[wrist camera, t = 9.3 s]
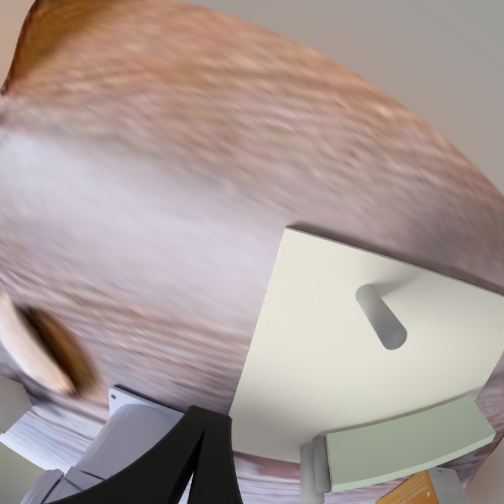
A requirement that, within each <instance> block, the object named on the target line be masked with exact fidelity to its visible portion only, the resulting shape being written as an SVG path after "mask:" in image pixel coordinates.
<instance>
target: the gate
mask: <svg viewBox="0 0 504 504" xmlns="http://www.w3.org/2000/svg"><path fill="white" fill-rule="evenodd" d="M495 434H496V432H495V430H494V429H493V427H492V426H491V424H490V423H489V422H488V420H487V419H486V417H485V416H484V414H483V413H482V412H481V410H480V409H479V407H478V406H477V405H476V403H475V402H474V401H473V399H472V398H471V397H470V395H468V396H465V397H463V398H460V399H458V400H455V401H452V402H450V403H447V404H444V405H441V406H438V407H435V408H432V409H429V410H426V411H423V412H420V413H417V414H413V415H410V416H406V417H403V418H399V419H396V420H392V421H388V422H384V423H380V424H375V425H371V426H367V427H362V428H357V429H352V430H347V431H341V432H336V433H330V434H327V442H328V451H329V460H330V469H331V478H332V489H333V492H338V491H344V490H350V489H355V488H360V487H365V486H369V485H374V484H378V483H382V482H386V481H390V480H394V479H397V478H401V477H404V476H408V475H411V474H414V473H417V472H420V471H423V470H426V469H429V468H432V467H435V466H437V465H440V464H443V463H445V462H448V461H450V460H453V459H455V458H458V457H460V456H462V455H465V454H467V453H469V452H471V451H474V450H476V449H478V448H480V447H482V446H484V445H486V444H488V443H490V442H492V441H493V439H494V436H495ZM313 454H314V472H315V492H316V493H318V494H325V493H328V492H330V491H331V482H330V472H329V462H328V452H327V444H326V437H325V436H323V435H317V436H315V437H314V438H313Z"/></svg>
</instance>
